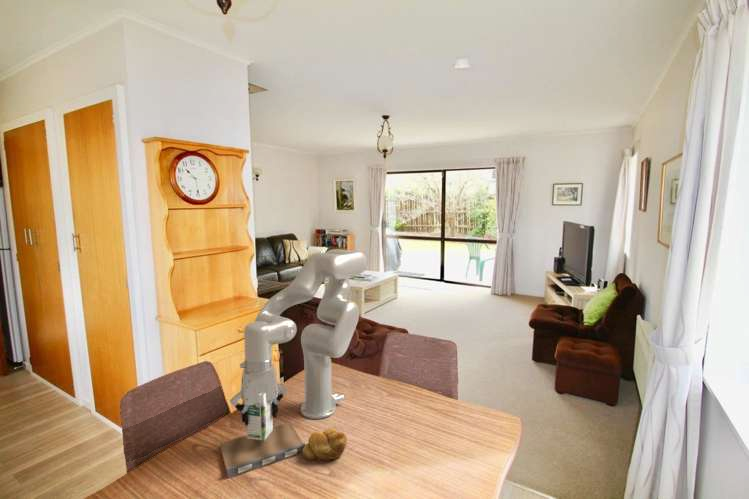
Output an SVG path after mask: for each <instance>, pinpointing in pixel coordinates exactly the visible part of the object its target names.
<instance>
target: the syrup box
mask: <svg viewBox="0 0 749 499" xmlns="http://www.w3.org/2000/svg"><path fill="white" fill-rule="evenodd" d="M247 412H248V425H247V435H248V439H256V440H262V441H265V439H266V438H267V437H268V436H269V434H270V433H271V432H272V430H273V427H274V426H273V424H274V421H273V419H274V417H273V413H272V401H268V402H266V394H265V393H262V394H259V399H258V404H256V405H252V406H249V407H248V409H247Z"/></svg>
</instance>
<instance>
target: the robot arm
mask: <svg viewBox="0 0 749 499" xmlns="http://www.w3.org/2000/svg"><path fill="white" fill-rule="evenodd" d="M367 266H368V260H367V257H366V255H365V253H364V252H362V251H358V250H350V249H339V248H337V249H336V248H335V249H329V250H328V251H327V252H315V253H312V254H311V255H310V256H309V257H308V258H307V259H306V261H305V263H304V264H303V266H302V268H301V269H300V271H299V272H298V274H297V275H296V276H295V278H294V279H293V281H292V282H291V284H290V285H288V286H286V287H285V288H283V289H281V290H280V291H278V292H277V293H276V294H274V295H273V296H271V297H269V299H268V300H267V301H266V302H265V304H264V305H263V307H262V308H261V309H260V311H259V312H258V314H257V316H256V317H255V320H254V321H252V322H250V323H247V324H246V325H245V326H244V329H243V331H244V332H243V336H244V338H243V339H244V361H243V362H241V363H239V367H240V369H242V374H241V384H240V391H238V392H237V393H236V394H235V395H234V396H233V397H232V398H230V400H229V401H230V404H231V405H232V406H233V407H234V408H235V409H236V410H237V411H239V412H240V413H241V422H242V423H244V425H245V426H247V425H248V412H247V409H248V407H249V406H252V405H256V404H258V399H259V394H262V393H265V394H266V402H268V401H272V413H273V419H274V418H277V414H278V412H279V410H278V409H279V407H278V406H279V404H280V401H282V399H283V398H284V395H285V394H286V392H287V390H288V388H287V386H285V385H284V384H283V385H282V384H280V383H278V377H277V372H276V366H275V365H274V364H273V361H272V346H273V345H279V344H285V343H288V342H289V341H292V339H294V338H295V336H296V334H297V332H298V331H297V330H298V328H297V324H296V322H295V321H293V320H292V319H290V318H288V317H284V316H281V314H282V313H283V312H284V311H286V310H287V309H288V308H291V307H293V306H294V305H295V306H296V305H298V304H302V303H305V302H309V301H311V300H313V298H314V297H315V295H316V294H317V293H318V290H319V289H320V287H321V285H322V284H323V282H324V280H326V279H328V282H327V285H326V289H325V290H324V293H323V295H322V298H321V299H320V302H319V304H318V307H317V309H316V310H317V311H316V317H317V318H318V320H320V321H321V322H324V323H326V324H330V325H334V327H331V326H328V325H323V324H321V323H310V324H308V325H307V326H305V327H304V329H302V332H301V335H300V342H301V343H300V344H301V348H302V353H303V361H304V362H303V363H304V365H303V366H304V402H303V403H302V405H301V406H300V412H301V415H302V416H303V417H305V418H307V419H312V420H320V419H321V420H322V419H325V418H328V417H330V416H332V415H333V414H334V413H335V412H336V409H337V405H336V404H337V403H338V402H341V401H344V400H345V395H344V394H340V395H339V394H338V392H336V393H334V394H333V392H332V389H333V388H332V359H331V358H334V359H338V358H341V357H343V355H344V354H345V353H346V352H347V350H348V348H349V346H350V342H351V340H352V338H353V337H354V333H355V331H356V327H357V325H358V323H359V319H360V308H359V306H358V304H357V303H356V302H355V301H353V300H349V299H348V297H349V294H350V291H351V282H350V280H349V278H353V277H357V276H358V275H361V274H362V273H363V272H364V271H365V270H366V268H367ZM240 399H241V400H242V403H239V402H238V401H239V400H240Z"/></svg>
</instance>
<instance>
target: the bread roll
mask: <svg viewBox="0 0 749 499" xmlns="http://www.w3.org/2000/svg"><path fill="white" fill-rule="evenodd" d="M307 442H308V443H307V444H305V446H304V448H303V450H302V455H303V457H304V458H305V459H306V460H309V461H317V460H320V461H325V462H327V461H333V460H337V459H339V458H340V457H341V456H342V455H343V453H344V451H345V448H346V446H347V436H346V434H345V433H344V432H342V431H339V430H337V429H334V428H330V427H329V428H326V429H325V430H323V431H320V430H317V431H314V432H312V433H311V435H310V436H309V437H308V441H307Z"/></svg>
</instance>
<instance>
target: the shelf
mask: <svg viewBox="0 0 749 499" xmlns="http://www.w3.org/2000/svg"><path fill="white" fill-rule="evenodd" d="M305 445H306V444H305V442H304V443H303V441H302V439H301V438H300V436H299V434H298V433H297V431H296V429H295V428H294V426H293V425H292V423H291V422H290V421H289V422H286V423H283V424H279V425H277V426H276V425H275V426H273V430H272V432H271V433H270V434H269V436H268V437H267V438H266V439H265V441H262V440H256V439H248V434H246V435H245V434H244V435H242V436H238V437H235V438H231V439H228V440H224V441H221V442H219V449H220V454H221V456H222V459H223V460H222V462H223V464H224V468H225V472H226V475H227V479H230V478H233V477H236V476H239V475H242V474H246V473H247V472H251V471H252V472H253V471H254V470H257V469H260V468H264V467H267V466H269V465H272V464H275V463H277V462H280V461H284V460H286V459H289V458H294V457H296V456H299V455H303V453H302V450H303V448H304V446H305Z"/></svg>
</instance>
